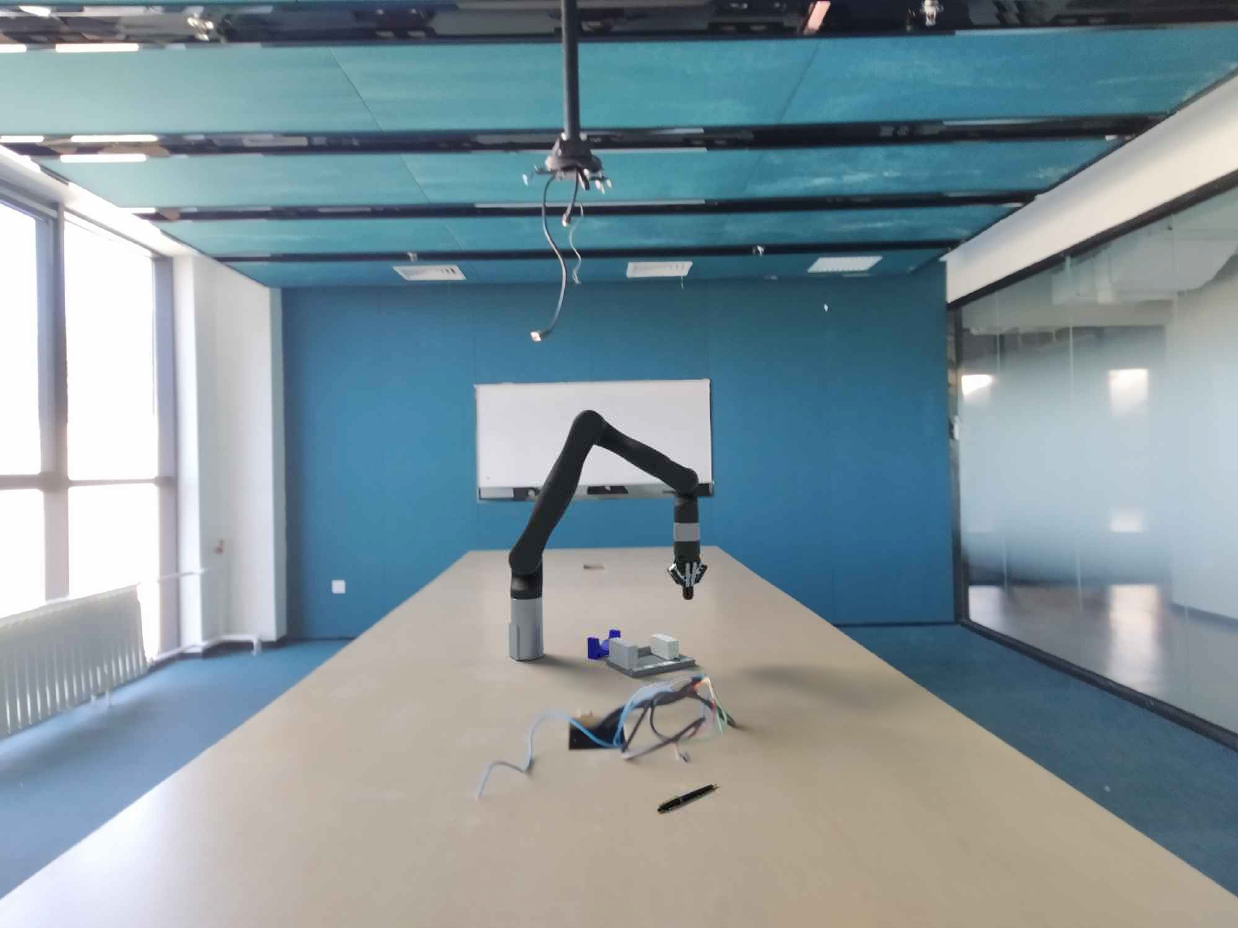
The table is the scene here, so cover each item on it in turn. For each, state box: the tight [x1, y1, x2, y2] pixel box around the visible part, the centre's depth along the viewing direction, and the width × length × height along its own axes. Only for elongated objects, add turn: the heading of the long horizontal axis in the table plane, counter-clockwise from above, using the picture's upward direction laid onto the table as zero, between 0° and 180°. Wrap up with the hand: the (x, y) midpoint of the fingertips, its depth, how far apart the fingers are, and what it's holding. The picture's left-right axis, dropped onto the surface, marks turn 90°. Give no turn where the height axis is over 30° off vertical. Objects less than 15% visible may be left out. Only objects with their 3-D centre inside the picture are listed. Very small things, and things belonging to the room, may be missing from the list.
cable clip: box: [586, 628, 622, 661], centre depth 206 cm, size 12×4×6 cm, turn 144°
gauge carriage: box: [649, 632, 681, 661], centre depth 196 cm, size 4×12×5 cm, turn 30°
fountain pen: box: [656, 783, 718, 812], centre depth 118 cm, size 14×1×2 cm, turn 129°
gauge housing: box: [605, 637, 696, 679], centre depth 194 cm, size 20×14×8 cm
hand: (688, 599), depth 201 cm, fingers closed
